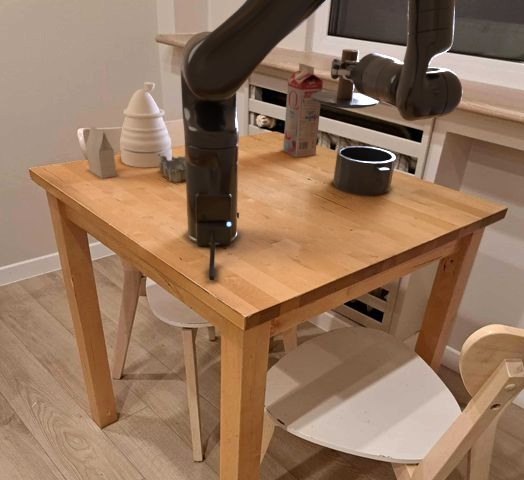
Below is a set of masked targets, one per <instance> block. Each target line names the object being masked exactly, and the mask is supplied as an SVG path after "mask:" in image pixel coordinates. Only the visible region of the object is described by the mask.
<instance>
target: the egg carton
mask: <svg viewBox="0 0 524 480" xmlns="http://www.w3.org/2000/svg"><path fill="white" fill-rule="evenodd" d="M158 156H159V157H160V158H161V161H160V163H159V167H158V168H159V171H160V173H161V174H162V173H163V176H165V177H166V178H168V181H169V182H174V183H178V182H182V181H184V180H185V181H186V167H185V155H184V156H177V157H174V156H172V160H169V161H168V160H167V158H166V156H160V154H158Z"/></svg>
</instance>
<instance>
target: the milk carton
mask: <svg viewBox="0 0 524 480" xmlns="http://www.w3.org/2000/svg"><path fill="white" fill-rule="evenodd" d="M298 63H299V64H298V70H296V72H294V73H292V74H291V75H290V76H289V77H288V78H287V88H286V89H287V91H286V104H285V105H286V106H285V120H284V134H283V149H282V151H283V152H285V153H287V154H289V155H290V156H293V157H295V158H299V157H306V156H308V157H309V156H316V154H317V152H316V151H317V143H318V133H319V125H320V124H319V123H320V114H321V113H320V112H321V105H322V103H319V102H316V101H314V100H312V99H311V95H312V94H313V93H316V92H323V86H324V85H323V84H324V81H323V80H322V79H321V78H320V77H318V76H317V75H315V74H314V73H315V66H311V65H308V64H304V63H301V62H298Z"/></svg>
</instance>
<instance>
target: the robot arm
mask: <svg viewBox="0 0 524 480" xmlns="http://www.w3.org/2000/svg"><path fill="white" fill-rule="evenodd" d="M327 2H328V0H245V1H244V2H243V3H242V5H241V6H240V7H239V8H237V10H235V12H234V13H231V15H230V16H229V17H228V18H227V19H225V20H224V21H223V22H222V23H221V24H220V25H218V26H217V27H216V28H215V29H213V30H211V31H208V30H207V31H201V32H198V33H195V34H194V35H193V36H191V37H190V38H189V39H188V40H187V41H186V43H185V44H184V46H183V48H182V51H181V55H180V89H181V91H180V93H181V108H182V109H181V110H182V111H181V112H182V123H183V134H184V135H183V136H184V137H183V138H184V156H185V167H186V180H185V190H186V192H185V193H186V216H187V238H188V239H189V240H190V241H192V242H193V243H195V244H196V246H198V247H209V246H210V247H209V248H210V249H209V270H208V275H209V277H208V279H209V281H211V282H212V281H214V279H215V257H216V246H218V247H219V246H232V242H235V241H236V239H238V219H240V213H239V212H238V187H239V185H238V183H239V182H238V180H239V143H240V142H239V141H240V126H239V121H238V110H237V92H238V91H240V89H241V87H242V86H243V85H244V84H245V83H246V82H247V80H248V79H249V78H250V77H251V76H252V74H253V73H254V72H255V71H256V69H257V68H258V67H259V66H260V65H261V64H262V62H264V60H265V59H266V58H267V56H268V55H270V53H271V52H273V50H274V49H275V48H276V47H277V46H278V45H279V44H280V43H281V42H283V40H284V39H286V38H287V37H288V36H289V35H291V34H292V33H293V32H294V31H295V30H296V29H297V28H299V27H300V26H301V25H302V24H303V23H305V21H307V20H308V19H309V18H310V17H311V16H312V15H313V14H314V13H316V11H318V10H319V9H320V8H321V7H322V6H323V5H324V4H325V3H327ZM455 7H456V0H407V35H406V37H407V39H406V42H407V43H406V47H405V48H406V49H405V53H404V58H403V61H402V62H401V61H400V60H398V59H397V58H395V57H390V56H387V55H384V54H380V53H376V52H372V53H368V54H366V55H364V56H362V57H361V58H360V60H358V61H353V60H345V61H343V60H341V59H338V58H334V59H333V60H332V61H331V68H330V69H331V70H330V78H331V79H333V80H337V79H338V80H339V78H340V75H342V76H343V79H347V80H350V81H351V82H352V83H354V89H356V91H357V93H359V94H362V95H364V96H367V97H369V98H371V99H374V100H376V101H378V103H383V104H384V103H385V104H386V105H389V106H391V107H393V108H396V110H397V112H398V114H399V116H400V117H401V118H402V119H403V120H404V121H407V122H417V121H423V120H429V119H435V118H436V119H437V118H441V117H446V116H448V115H450V114H452V113H453V112H454V111H455V110H456V109H457V108H458V107H459V105H460V103H461V101H462V97H463V85H462V82H461V79H460V78H459V77H458V75H457V74H456V73H454V71H451V70H450V69H447V68H441V67H430V64H431V61H432V60H433V58H435V57H437V56H439V55H442V54H443V53H446V52H447V51H449V50H450V49H451V47H452V45H453V42H454V32H455V13H456V12H455V10H456V8H455Z"/></svg>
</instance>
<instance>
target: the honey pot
mask: <svg viewBox="0 0 524 480" xmlns="http://www.w3.org/2000/svg"><path fill="white" fill-rule="evenodd" d="M143 87H144V88H139V89H137V90H136V91H134V93H133V94H132V96H131V98H130V100H129V102H128V106H127V107H126V108H124V109H123V111H122V113H123V115H124V119H123V123H122V126H121V127H122V129H121V132H120V133H121V134H120V136H119V146H120V147H119V149H120V159H121V162H122V163H123V164H125V165H127V166H129V167H135V168H160V167H159V163H160V161H161V158H160V157H159V156H158V154H160V156H166V158H167V160H168V161H169V160H172V157H173V153H172V152H173V151H172V139H171V137H170V135H169V131H168V129H167V124H166V123H165V121H164V118H163V117H164V115H165V110H164V109H162V108H160V107H158V105H157V103H156V101H155V100H154V98H153V96H152V95H151V94H150V93H151V92H153V91H154V89H155V87H156V83H155V82H152V81H146V82H143Z"/></svg>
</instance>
